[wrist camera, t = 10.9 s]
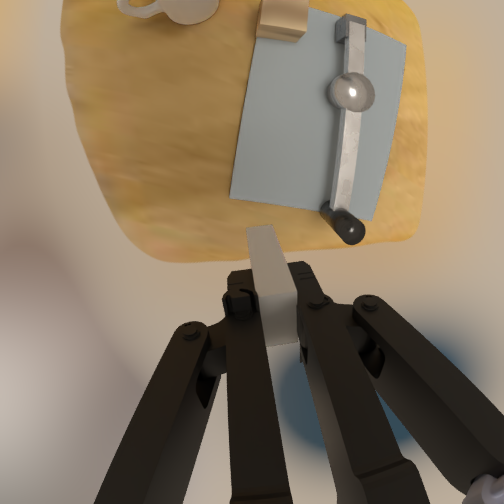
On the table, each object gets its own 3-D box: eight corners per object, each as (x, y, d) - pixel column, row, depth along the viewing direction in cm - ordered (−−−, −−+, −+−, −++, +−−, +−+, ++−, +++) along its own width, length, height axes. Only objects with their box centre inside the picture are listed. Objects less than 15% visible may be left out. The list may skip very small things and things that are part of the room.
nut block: (259, 5, 22) (264, -11, 18) (299, 11, 22) (309, -3, 18) (255, 36, 24) (259, 24, 19) (295, 42, 24) (306, 31, 20)
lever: (327, 19, 22) (353, -2, 16) (362, 29, 23) (393, 12, 16) (310, 218, 33) (331, 244, 26) (343, 220, 34) (369, 245, 27)
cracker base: (264, 1, 22) (267, -9, 19) (401, 46, 25) (414, 43, 22) (229, 195, 33) (229, 202, 30) (367, 217, 35) (378, 226, 33)
